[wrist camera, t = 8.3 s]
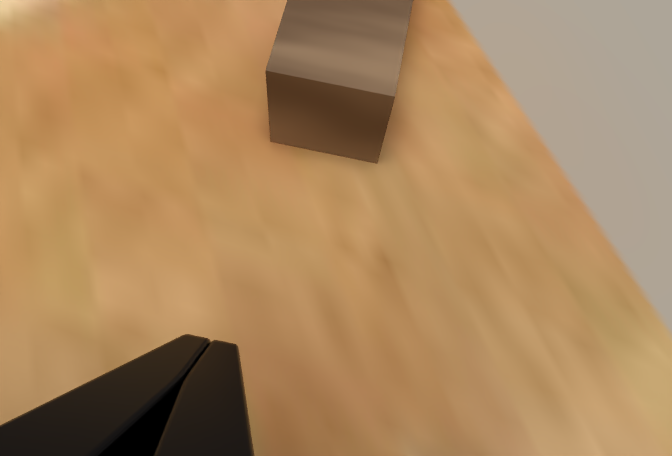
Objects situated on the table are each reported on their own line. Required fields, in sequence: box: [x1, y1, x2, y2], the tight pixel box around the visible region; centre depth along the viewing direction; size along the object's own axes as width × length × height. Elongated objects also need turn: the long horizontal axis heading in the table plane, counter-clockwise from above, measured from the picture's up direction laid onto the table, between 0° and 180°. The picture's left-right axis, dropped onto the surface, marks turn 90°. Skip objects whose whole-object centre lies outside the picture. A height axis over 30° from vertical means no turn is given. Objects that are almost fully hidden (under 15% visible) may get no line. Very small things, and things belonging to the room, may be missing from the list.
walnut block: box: [266, 0, 413, 163], centre depth 26 cm, size 5×5×12 cm
